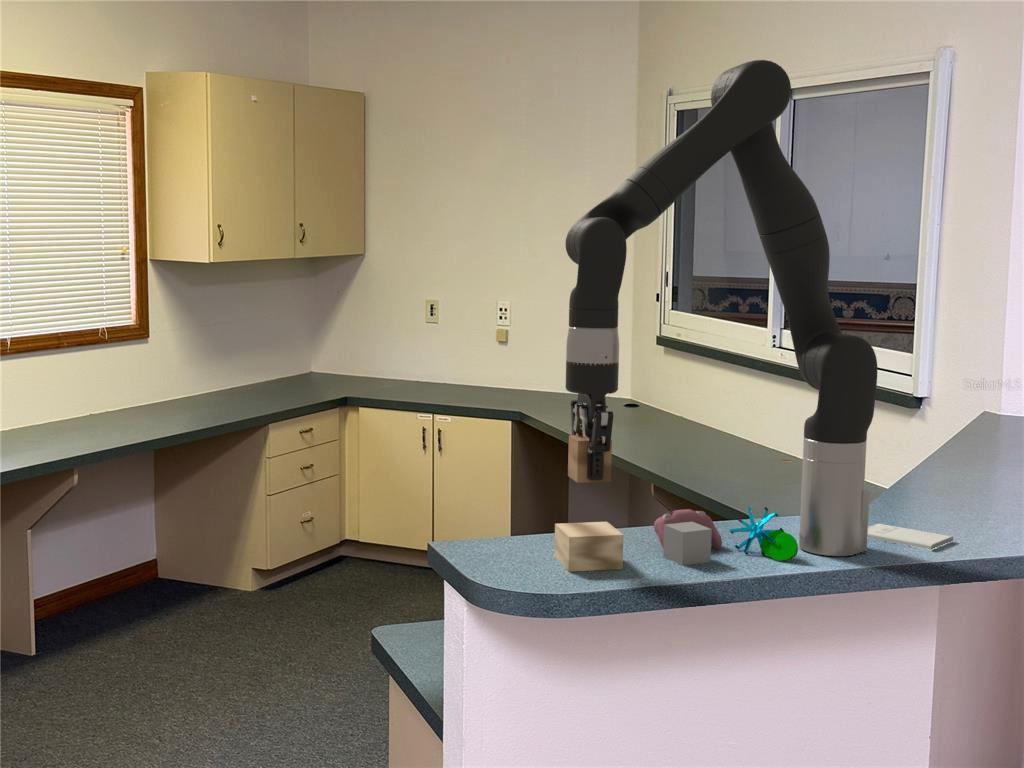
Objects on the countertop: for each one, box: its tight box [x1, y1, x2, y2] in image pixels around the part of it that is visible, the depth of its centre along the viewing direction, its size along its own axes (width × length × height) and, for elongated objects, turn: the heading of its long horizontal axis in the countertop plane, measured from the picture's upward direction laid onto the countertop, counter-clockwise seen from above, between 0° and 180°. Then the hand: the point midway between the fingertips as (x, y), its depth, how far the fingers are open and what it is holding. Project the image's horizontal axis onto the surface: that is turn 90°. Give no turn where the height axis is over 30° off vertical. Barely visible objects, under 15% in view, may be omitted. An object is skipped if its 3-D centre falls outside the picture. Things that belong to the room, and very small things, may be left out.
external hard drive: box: [868, 523, 954, 549], centre depth 178 cm, size 2×8×12 cm
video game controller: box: [653, 508, 723, 551], centre depth 171 cm, size 10×5×7 cm, turn 111°
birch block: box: [554, 521, 624, 573], centre depth 161 cm, size 8×8×5 cm
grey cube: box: [662, 522, 712, 566], centre depth 164 cm, size 5×5×5 cm
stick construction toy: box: [728, 505, 799, 562], centre depth 169 cm, size 12×7×8 cm
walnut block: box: [567, 434, 613, 484], centre depth 160 cm, size 5×5×6 cm
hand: (589, 475), depth 160 cm, fingers closed on walnut block, 5 cm apart
